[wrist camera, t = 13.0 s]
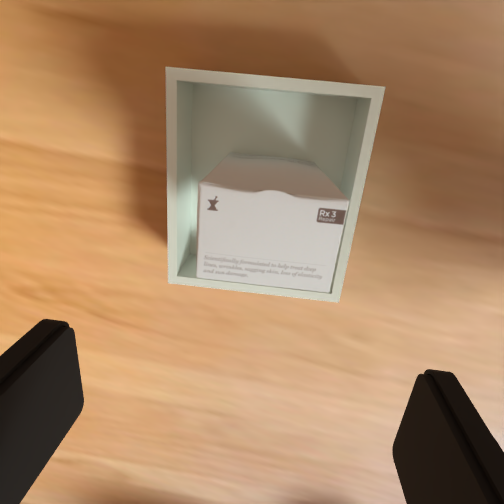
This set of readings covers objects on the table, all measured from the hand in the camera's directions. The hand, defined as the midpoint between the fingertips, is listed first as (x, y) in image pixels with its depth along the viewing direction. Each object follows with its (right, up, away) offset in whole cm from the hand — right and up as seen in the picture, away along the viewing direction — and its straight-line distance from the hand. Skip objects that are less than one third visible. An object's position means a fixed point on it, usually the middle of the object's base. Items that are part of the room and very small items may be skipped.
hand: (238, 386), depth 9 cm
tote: (+2, +10, +24) cm, 26 cm away
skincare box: (+2, +10, +23) cm, 25 cm away
